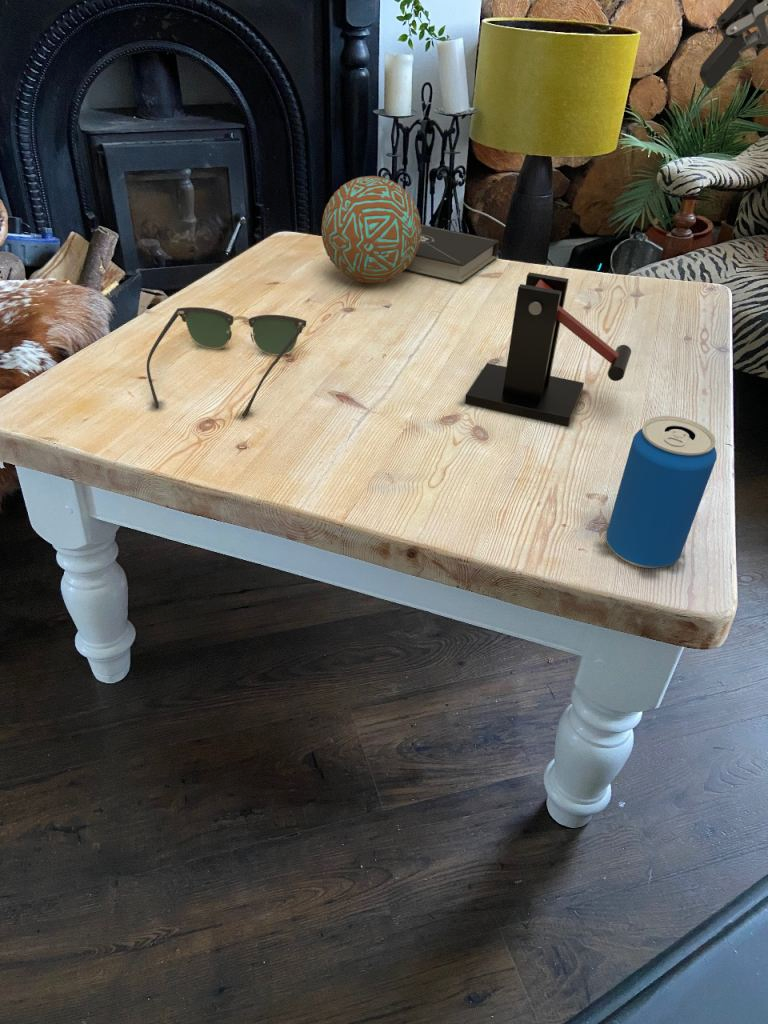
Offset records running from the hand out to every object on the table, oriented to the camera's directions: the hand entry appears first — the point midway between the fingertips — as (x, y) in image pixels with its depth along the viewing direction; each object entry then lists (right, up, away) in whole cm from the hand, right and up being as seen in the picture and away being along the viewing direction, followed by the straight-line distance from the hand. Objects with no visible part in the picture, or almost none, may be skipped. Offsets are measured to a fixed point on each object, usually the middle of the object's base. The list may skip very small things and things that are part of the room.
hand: (738, 93), depth 67 cm
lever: (-11, -19, +14) cm, 26 cm away
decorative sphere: (-34, -2, +49) cm, 60 cm away
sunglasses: (-51, -22, +22) cm, 60 cm away
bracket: (-15, -24, +21) cm, 35 cm away
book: (-26, +5, +59) cm, 64 cm away
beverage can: (-9, -41, -1) cm, 42 cm away
